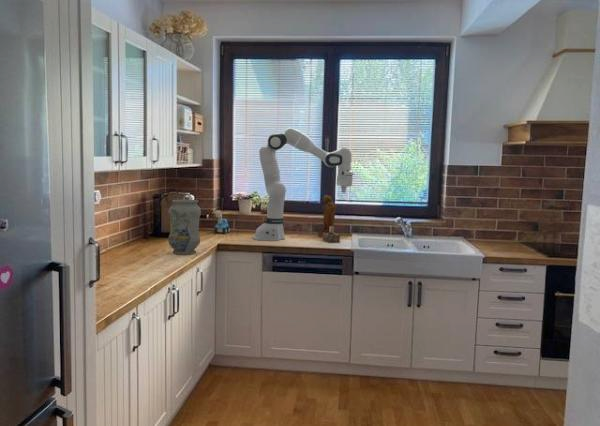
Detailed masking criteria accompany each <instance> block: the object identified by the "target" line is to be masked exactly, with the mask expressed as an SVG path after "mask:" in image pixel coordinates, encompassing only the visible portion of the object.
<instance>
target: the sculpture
mask: <svg viewBox="0 0 600 426" xmlns="http://www.w3.org/2000/svg"><path fill="white" fill-rule="evenodd" d="M322 200H323V203H324V204H325V205H324V206H322V209H323V219H322V221H323V222H322V223H323V229H322V230H320V231H318V232H317V236H319V237H321V238H323V233H329V227H330V226H333V227H334V223H335V216H336V213H337V209H338V205H336V203H335V202H333V199H332V197H331V196H330V195H328V194H324V196H323V199H322Z"/></svg>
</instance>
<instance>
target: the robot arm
mask: <svg viewBox="0 0 600 426" xmlns="http://www.w3.org/2000/svg"><path fill="white" fill-rule="evenodd" d="M287 144H288V145H290V146H292V147H293V148H295V149H297V150H299V151H302V152H303V153H309V154H311V155H313V156H314V157H316V158H318V159H320V160H321V161H322V162H323V164H324V165H325V166H327V167H328V168H334V167H337V175H336V185H337V186H340V188H341V193H343V194H345V193H346V191H347V187H348V188H350V187H352V186H353V175H354V171H352V165H351V164H352V151H351V149H349V148H344V147H340V148H339V149H337V150H333V151H331V152H328V151H326V150H324V149H322V148H321V147H319V146H317V144H315V143H314V141H313V140H312V139H311V138H310V137H309V136H308V135H307V134H305V133H303V132H302V131H300V130H298V129H296V128H293V127H287V128H285V130H284V131H283V133H280V132H274V133H272V134H270V135H269V137H268V139H267V144H266V145H264V146H261V147H260V149H259V151H258V153H259V160H260V165H261V170H262V174H263V179H264V184H265V185H264V186H265V190H266V193H267V195H268V201H267V211H266V217H262V221H263V223H262V224H261V225H260V226H258V227H257V228H256V230H255V234H254V235H252V236H251V239H253V240H256V241H281V240H284V239H285V238H286V237H285V233H284V232H285V231H284V225H285V219H284V207H285V199H286V193H287V188H286V186H285V185H284V183H282V182H281V181H282V180H281V174H280V173H281V171H280V168H279V164H278V159H277V156H276V153H277V151H278V150H281V149H282V148H283V147H284V146H285V145H287Z"/></svg>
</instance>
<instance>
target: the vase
mask: <svg viewBox="0 0 600 426" xmlns="http://www.w3.org/2000/svg"><path fill="white" fill-rule="evenodd" d="M171 202H172V205H171V206H169V207H168V209H167V210H168V215H169V220H170V221H169V223H170V224H169V225H170V231H169V235H168V240H167V241H168V244H169V246H170V247H171V248H172V249H173V251H172V253H173V254H174V255H182V256H183V255H184V256H185V255H194V254H196V252H197V251H196V250H195V249H196V248H198V246H199V245H200V243H201V235H200V234H199V233H200V231H199V229H200V228H199V227H200V226H199V225H200V217H201V214H202V209H201V207H200V206H199V205H198V203H199V200H198V199H173V200H172V201H171Z"/></svg>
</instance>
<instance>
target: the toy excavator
mask: <svg viewBox="0 0 600 426" xmlns="http://www.w3.org/2000/svg"><path fill="white" fill-rule="evenodd" d="M214 215H215V218H217V224H215V227H214V233H215V234H218V233H222V234H227V233H230V232H231V228H230V226H229V224H228V220H227V219H226V218H223V214H222V210H219V209H218V210H216V211H215V214H214Z"/></svg>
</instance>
